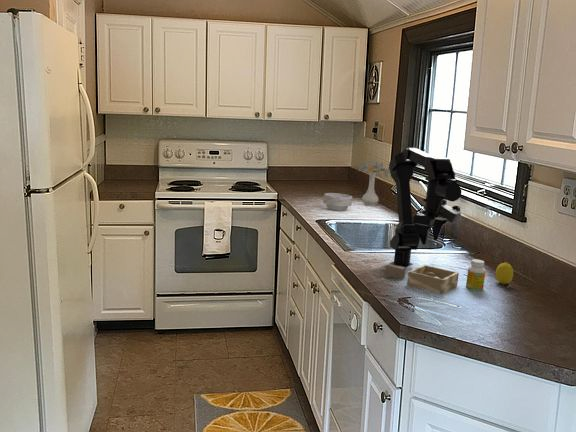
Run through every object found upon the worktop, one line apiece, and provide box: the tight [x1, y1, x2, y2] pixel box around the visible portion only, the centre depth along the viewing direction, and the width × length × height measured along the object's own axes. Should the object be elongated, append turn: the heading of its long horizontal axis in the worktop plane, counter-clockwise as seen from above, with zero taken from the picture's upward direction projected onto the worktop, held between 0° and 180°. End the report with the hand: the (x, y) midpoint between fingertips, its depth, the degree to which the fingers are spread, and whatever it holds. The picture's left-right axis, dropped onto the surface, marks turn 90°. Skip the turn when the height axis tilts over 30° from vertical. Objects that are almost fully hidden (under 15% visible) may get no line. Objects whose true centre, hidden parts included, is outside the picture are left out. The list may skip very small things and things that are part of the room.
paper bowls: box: [323, 192, 353, 212], centre depth 317 cm, size 15×15×8 cm
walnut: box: [426, 272, 436, 277], centre depth 195 cm, size 3×3×3 cm
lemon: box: [495, 261, 514, 285], centre depth 199 cm, size 6×6×8 cm
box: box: [406, 264, 460, 295], centre depth 192 cm, size 12×12×5 cm
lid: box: [384, 263, 407, 280], centre depth 199 cm, size 12×12×5 cm
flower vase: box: [357, 160, 390, 207], centre depth 335 cm, size 13×18×25 cm
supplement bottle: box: [465, 258, 486, 292], centre depth 191 cm, size 5×5×10 cm
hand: (429, 242), depth 197 cm, fingers open, 9 cm apart
